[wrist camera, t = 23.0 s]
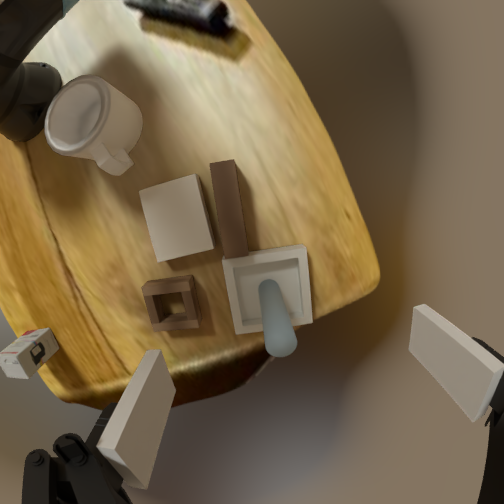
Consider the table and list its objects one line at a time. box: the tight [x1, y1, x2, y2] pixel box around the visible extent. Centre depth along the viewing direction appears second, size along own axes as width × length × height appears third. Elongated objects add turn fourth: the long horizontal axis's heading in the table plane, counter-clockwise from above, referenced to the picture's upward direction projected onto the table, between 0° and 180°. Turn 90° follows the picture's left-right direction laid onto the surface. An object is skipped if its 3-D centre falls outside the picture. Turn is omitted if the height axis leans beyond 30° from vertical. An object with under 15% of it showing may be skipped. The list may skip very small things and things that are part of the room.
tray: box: [222, 244, 313, 335], centre depth 39 cm, size 11×11×2 cm
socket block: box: [141, 275, 202, 332], centre depth 39 cm, size 7×7×3 cm
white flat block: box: [139, 174, 216, 262], centre depth 37 cm, size 8×10×3 cm
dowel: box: [258, 279, 297, 357], centre depth 32 cm, size 3×3×15 cm
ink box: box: [0, 328, 59, 379], centre depth 36 cm, size 9×5×12 cm, turn 103°
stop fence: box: [210, 160, 249, 259], centre depth 36 cm, size 3×12×4 cm, turn 8°
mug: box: [45, 75, 143, 176], centre depth 30 cm, size 14×10×11 cm
